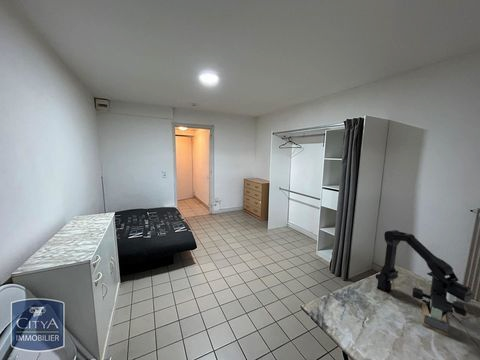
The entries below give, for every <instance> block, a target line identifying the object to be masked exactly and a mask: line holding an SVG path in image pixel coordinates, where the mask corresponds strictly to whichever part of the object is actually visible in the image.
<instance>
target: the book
mask: <svg viewBox="0 0 480 360" xmlns="http://www.w3.org/2000/svg"><path fill="white" fill-rule="evenodd" d="M430 307H431V314H429V316H430V317H432V318H434V319H437V320H439V321H441V318H442V311H441V310H439V309H436V308H433V307H432V306H430Z"/></svg>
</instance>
